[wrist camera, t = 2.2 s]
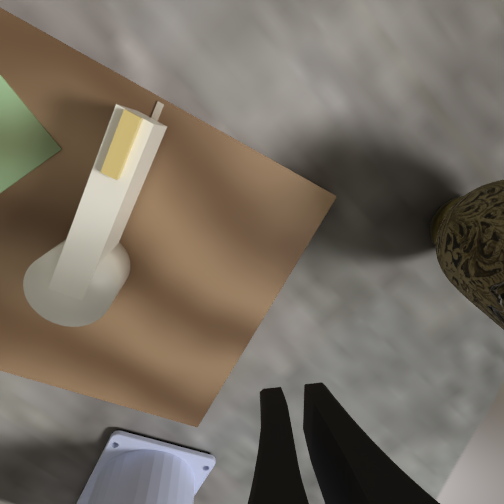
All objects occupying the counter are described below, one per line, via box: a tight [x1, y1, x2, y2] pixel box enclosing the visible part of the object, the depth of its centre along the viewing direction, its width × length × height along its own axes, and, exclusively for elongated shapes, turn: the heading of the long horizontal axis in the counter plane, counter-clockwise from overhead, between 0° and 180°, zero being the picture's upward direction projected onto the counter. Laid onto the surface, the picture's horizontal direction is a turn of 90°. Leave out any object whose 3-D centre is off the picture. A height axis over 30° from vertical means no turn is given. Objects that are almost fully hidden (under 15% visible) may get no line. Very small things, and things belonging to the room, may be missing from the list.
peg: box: [23, 104, 167, 327], centre depth 14 cm, size 10×4×4 cm, turn 152°
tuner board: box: [0, 8, 337, 427], centre depth 17 cm, size 18×20×1 cm
